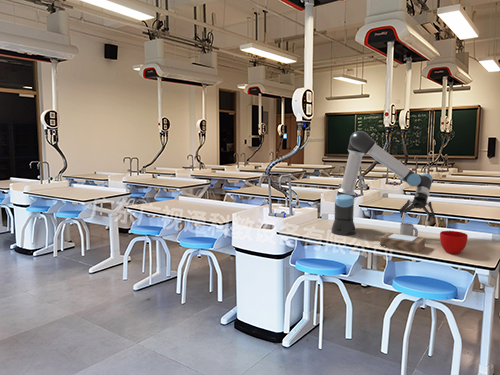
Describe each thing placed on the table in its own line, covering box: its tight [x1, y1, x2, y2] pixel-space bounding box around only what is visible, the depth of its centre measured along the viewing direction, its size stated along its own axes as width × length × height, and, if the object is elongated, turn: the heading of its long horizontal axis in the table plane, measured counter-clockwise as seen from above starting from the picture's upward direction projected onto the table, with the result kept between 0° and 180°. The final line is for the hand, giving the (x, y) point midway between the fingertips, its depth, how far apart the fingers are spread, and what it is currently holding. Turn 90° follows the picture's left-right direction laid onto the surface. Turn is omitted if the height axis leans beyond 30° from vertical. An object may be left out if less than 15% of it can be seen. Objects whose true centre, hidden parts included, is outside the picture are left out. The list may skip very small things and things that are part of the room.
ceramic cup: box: [439, 230, 468, 255], centre depth 211 cm, size 13×17×10 cm
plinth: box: [379, 232, 426, 253], centre depth 221 cm, size 20×14×5 cm
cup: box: [399, 222, 419, 237], centre depth 234 cm, size 7×10×9 cm
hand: (413, 223), depth 236 cm, fingers open, 13 cm apart
